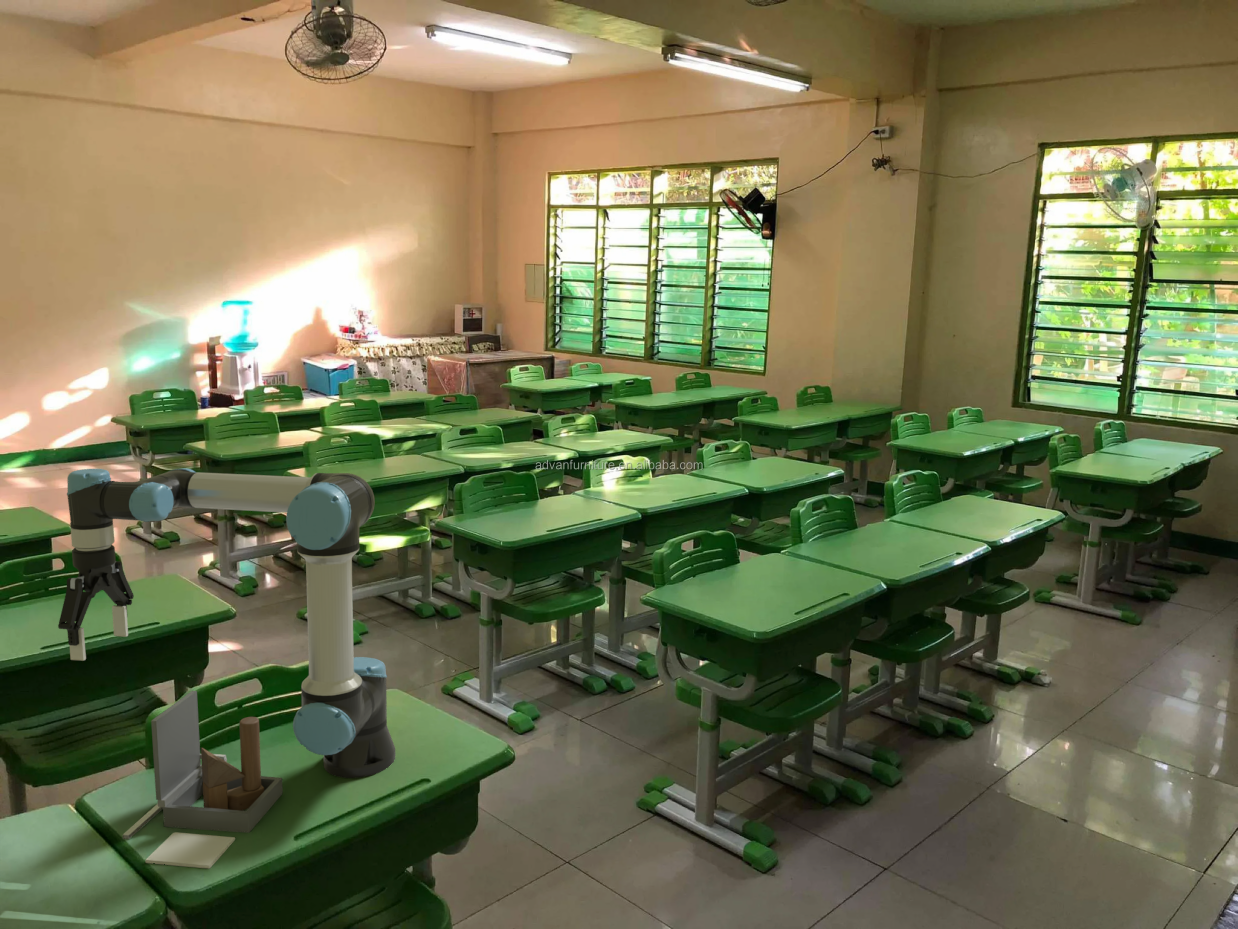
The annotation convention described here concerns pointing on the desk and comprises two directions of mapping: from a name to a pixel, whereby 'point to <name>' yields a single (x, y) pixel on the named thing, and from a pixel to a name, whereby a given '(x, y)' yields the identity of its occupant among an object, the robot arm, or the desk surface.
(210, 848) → the mat
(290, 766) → the desk surface
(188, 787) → the case
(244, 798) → the wooden toy pieces
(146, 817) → the rod
